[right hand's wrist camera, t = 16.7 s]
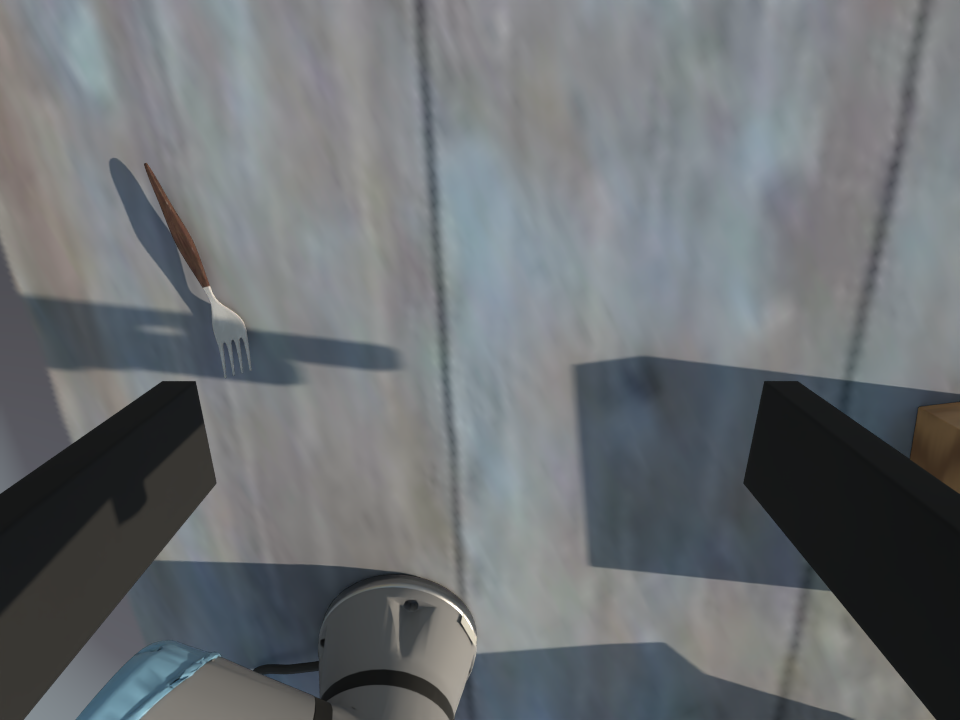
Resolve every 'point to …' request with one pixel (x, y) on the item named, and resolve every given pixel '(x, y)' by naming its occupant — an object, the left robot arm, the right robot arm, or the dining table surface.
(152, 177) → the fork
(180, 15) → the dining table surface
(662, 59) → the dining table surface
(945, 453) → the box
